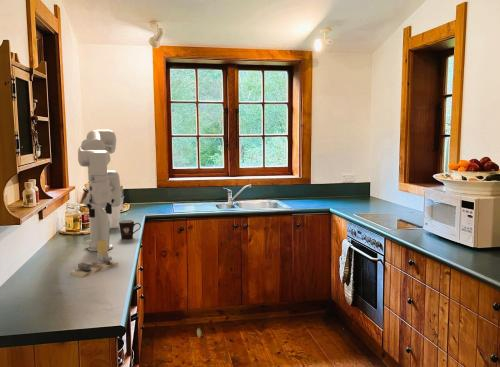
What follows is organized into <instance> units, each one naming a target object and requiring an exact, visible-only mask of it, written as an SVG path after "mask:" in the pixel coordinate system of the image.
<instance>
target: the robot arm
mask: <svg viewBox="0 0 500 367" xmlns="http://www.w3.org/2000/svg"><path fill="white" fill-rule="evenodd" d="M116 146H117V136H116V133H115V131H113V130H110V129H96V130H95V129H94V130H91V131H89V132H87V134H86V138H85V139H84V140H82V141H81V145H80V146H79V147H78V150H77V160H78V161H77V162H78V165H79V166H81V167H85V168H86V167H87V175H88V192H87V194H86V198H85V199H84V200H83V204H84V206H85V207H86V208H87V209H88V216H89V218H88V219H89V233H90V236H89V237H90V239H86V240H85V242H84V244H85V245H88V246H87V250H88V251H90V252H98V247H97V241H99V240H107V251H109V250H112V249H113V248H114V247H113V244H111V243H110V228H109V225H110V222H109V218H108V214H112V207H117V206H119V205H120V204H121V205H122V202H121V199H122V192H121V190H122V189H121V182H120V181H121V180H120V175H119V173H118V172H117V171H115V170H108V165H109V163H110V162H111V155H112V154H114V153H115V152H116ZM104 209H105V210H104Z"/></svg>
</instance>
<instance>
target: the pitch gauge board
mask: <svg viewBox="0 0 500 367" xmlns="http://www.w3.org/2000/svg"><path fill="white" fill-rule="evenodd" d="M116 265H118V266H119V262H118V261H113V260H110V263H108V261H107V260H105V261H101V260H97V261H94V262H91V263H86V262H80V263H78V264H77V267H75V268H74V269H73V270H70V272H69V273H70V275H71V276H75V277H80V278H84V277H87V276H91V275H94V274H97V273H99V272H103V271H106V270H108V268H109V269H111V267H112V268H114V266H115V267H117V266H116ZM105 269H106V270H105ZM102 270H103V271H102Z"/></svg>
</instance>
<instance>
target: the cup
mask: <svg viewBox="0 0 500 367" xmlns="http://www.w3.org/2000/svg"><path fill="white" fill-rule="evenodd" d="M122 201H123V200H122V198H121V204H120V205H119V206H117V207H112V214H108V221H109V225H110V228H111V229H118V228H119V227H120V226H119V221H120V216H121V209H122Z"/></svg>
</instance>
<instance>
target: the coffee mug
mask: <svg viewBox="0 0 500 367" xmlns="http://www.w3.org/2000/svg"><path fill="white" fill-rule="evenodd" d="M136 225H139V227H138V229H136V230H135V231H134V229H135V228H134V227H135V226H136ZM118 227H119V231H120V232H119V233H120V237H121V240H132V239H133V238H134V234H135V233H137V232H138V231H139V230H140V229H141V227H142V226H141V224H140V222H136V223H135V220H133V219H123V220H119V226H118Z"/></svg>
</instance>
